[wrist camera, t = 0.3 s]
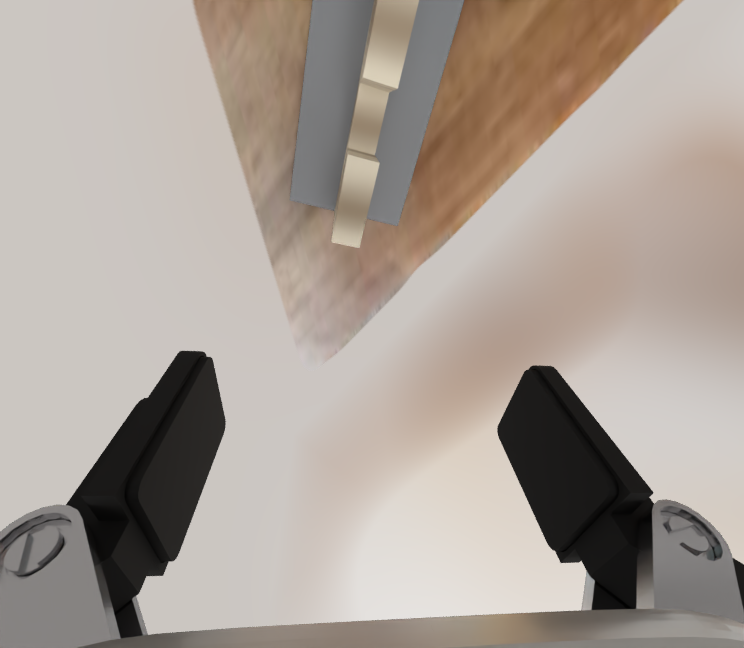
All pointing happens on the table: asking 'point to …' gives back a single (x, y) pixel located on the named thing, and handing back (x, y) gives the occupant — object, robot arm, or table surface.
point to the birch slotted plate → (371, 114)
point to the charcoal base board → (338, 94)
